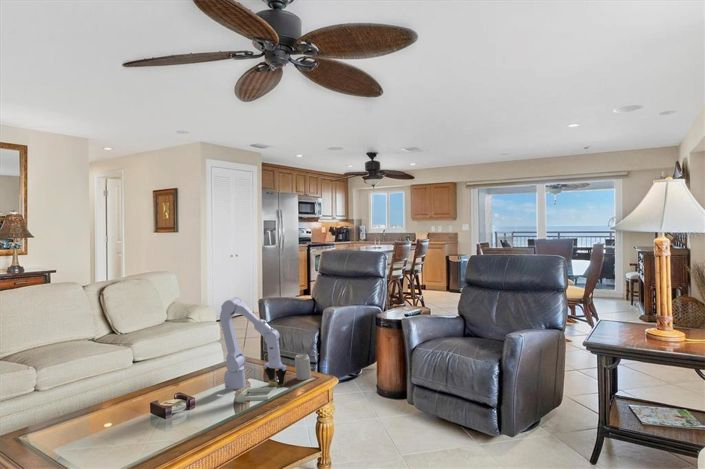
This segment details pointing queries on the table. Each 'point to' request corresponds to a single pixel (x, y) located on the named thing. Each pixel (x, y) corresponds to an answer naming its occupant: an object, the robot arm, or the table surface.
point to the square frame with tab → (276, 382)
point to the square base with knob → (277, 380)
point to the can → (302, 367)
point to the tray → (242, 398)
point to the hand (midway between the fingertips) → (276, 383)
